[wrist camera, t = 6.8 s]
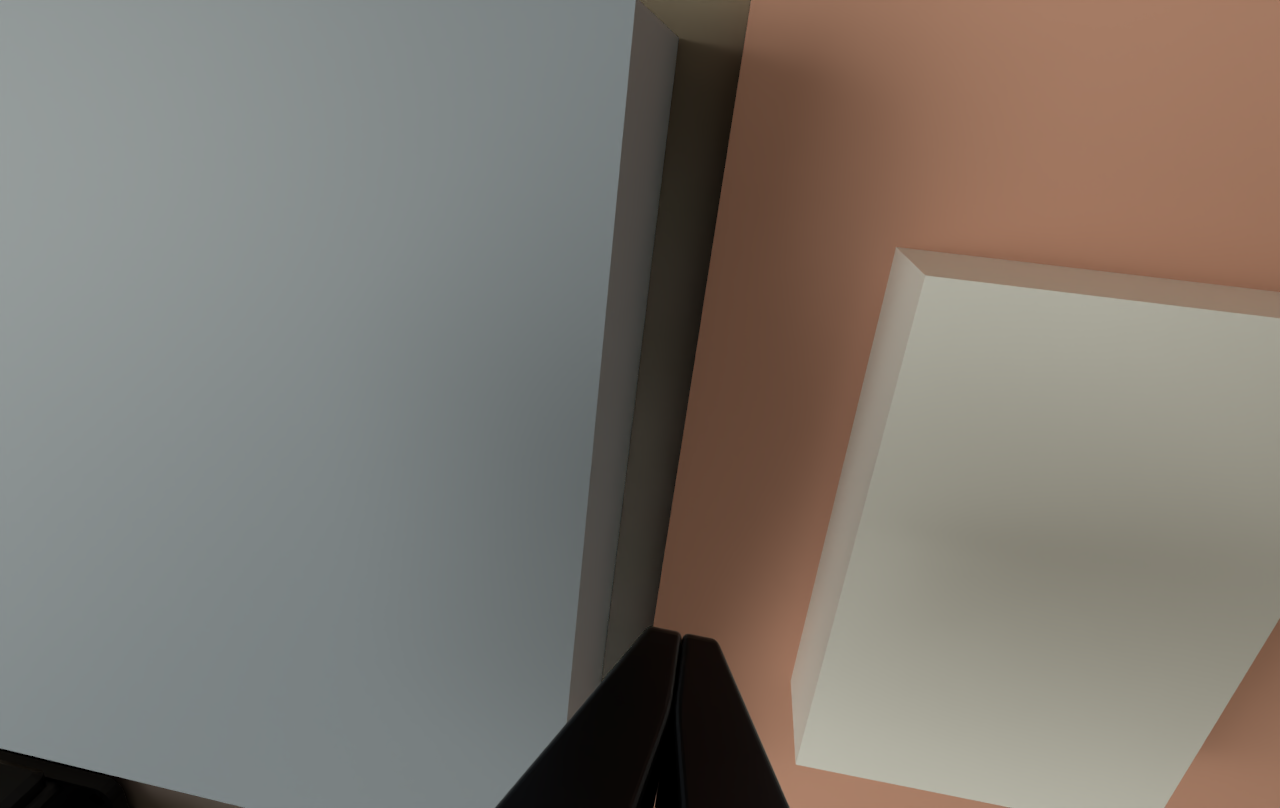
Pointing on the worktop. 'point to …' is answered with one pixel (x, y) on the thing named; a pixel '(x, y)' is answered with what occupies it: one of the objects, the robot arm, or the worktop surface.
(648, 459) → the worktop surface
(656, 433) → the worktop surface
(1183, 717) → the white rectangular block
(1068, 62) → the mat
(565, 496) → the light blue flat slab
